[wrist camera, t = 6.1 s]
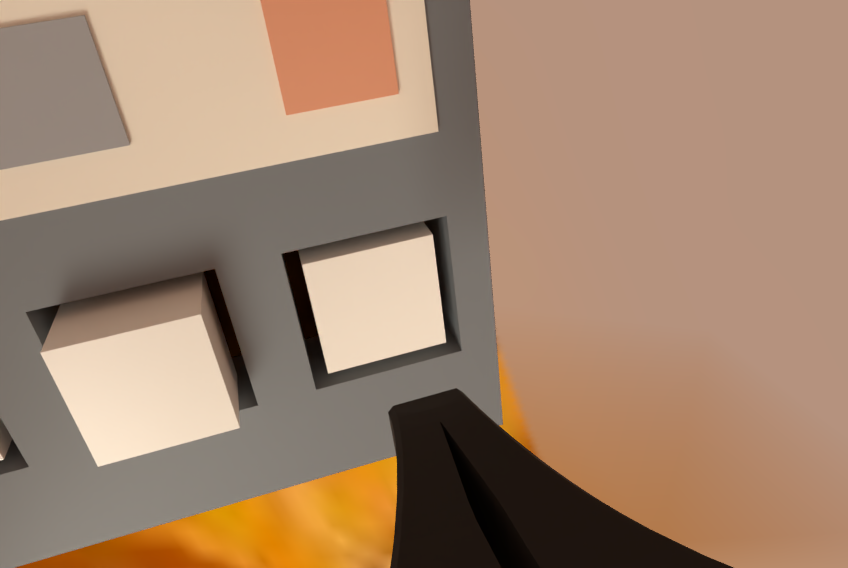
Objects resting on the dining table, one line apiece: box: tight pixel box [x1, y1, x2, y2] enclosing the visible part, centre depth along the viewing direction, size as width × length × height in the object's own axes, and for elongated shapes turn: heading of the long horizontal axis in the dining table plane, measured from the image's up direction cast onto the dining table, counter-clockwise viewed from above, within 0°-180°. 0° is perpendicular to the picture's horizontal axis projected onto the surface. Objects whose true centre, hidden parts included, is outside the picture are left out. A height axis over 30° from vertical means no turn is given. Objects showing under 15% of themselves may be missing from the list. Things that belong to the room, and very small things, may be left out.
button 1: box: [298, 221, 446, 374], centre depth 17 cm, size 3×3×2 cm
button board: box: [0, 0, 503, 568], centre depth 15 cm, size 17×14×3 cm
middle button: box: [40, 272, 240, 467], centre depth 15 cm, size 3×3×2 cm
